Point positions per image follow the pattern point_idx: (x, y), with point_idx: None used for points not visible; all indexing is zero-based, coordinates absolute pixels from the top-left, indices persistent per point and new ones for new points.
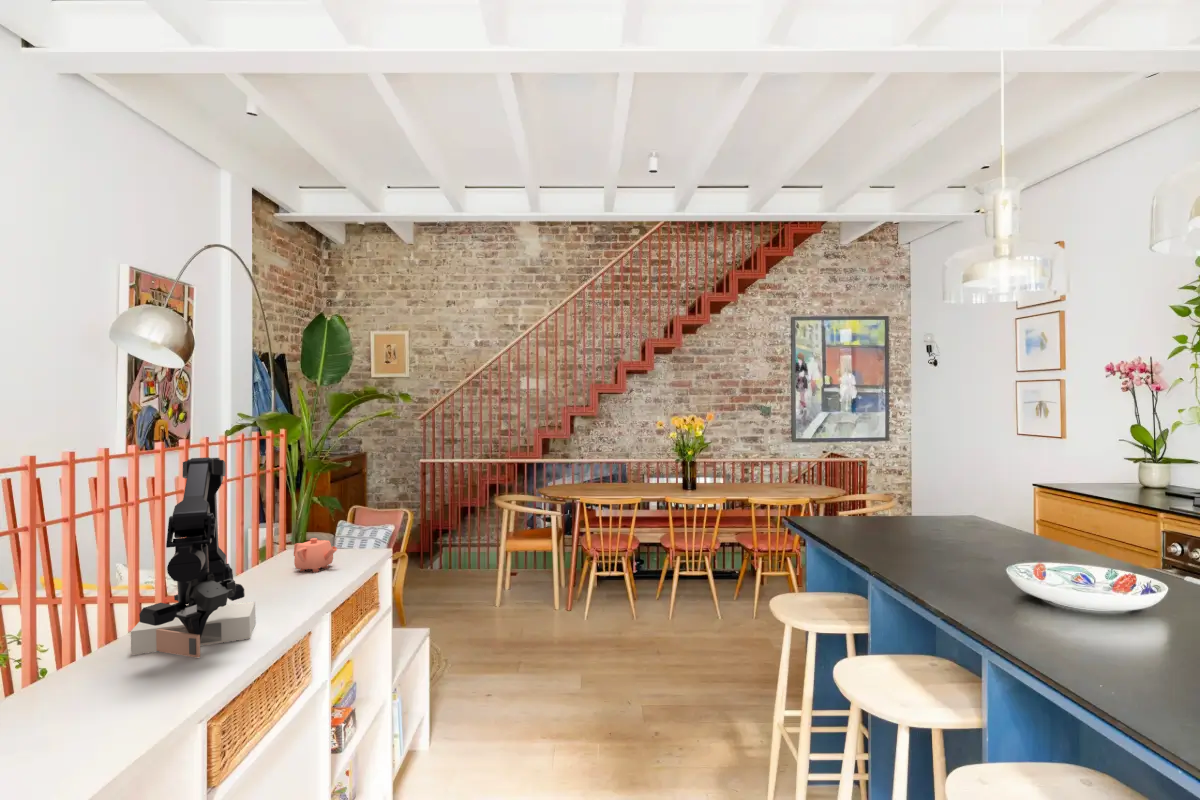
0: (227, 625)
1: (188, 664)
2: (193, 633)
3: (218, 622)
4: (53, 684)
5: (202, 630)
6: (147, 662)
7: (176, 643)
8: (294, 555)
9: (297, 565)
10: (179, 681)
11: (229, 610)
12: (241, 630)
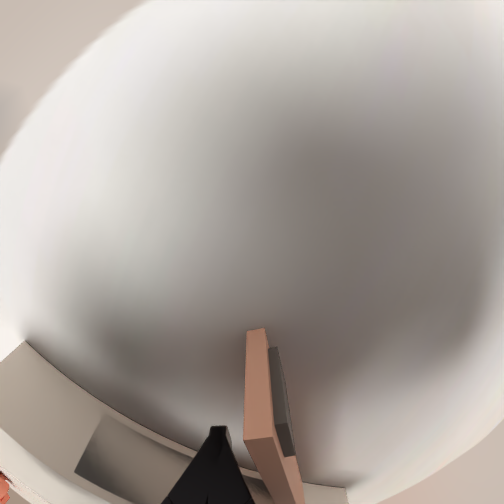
0: (56, 442)
1: (332, 291)
2: (245, 483)
3: (84, 479)
4: (500, 411)
5: (185, 479)
6: (374, 433)
7: (295, 472)
8: (8, 496)
9: (5, 484)
10: (453, 101)
11: (50, 493)
12: (24, 383)
